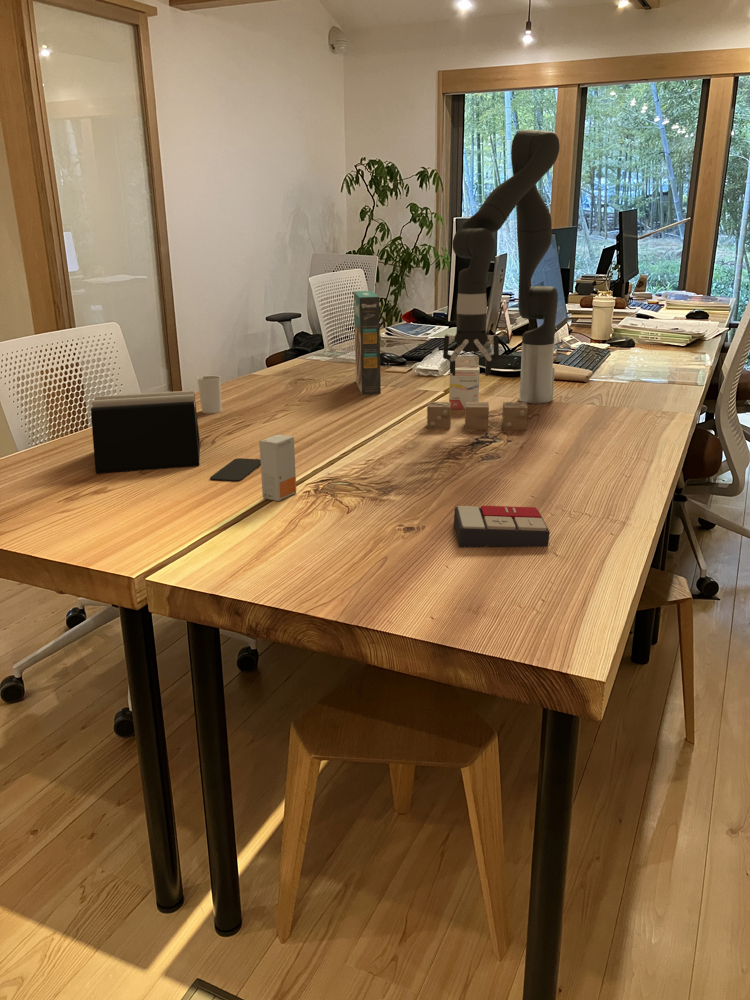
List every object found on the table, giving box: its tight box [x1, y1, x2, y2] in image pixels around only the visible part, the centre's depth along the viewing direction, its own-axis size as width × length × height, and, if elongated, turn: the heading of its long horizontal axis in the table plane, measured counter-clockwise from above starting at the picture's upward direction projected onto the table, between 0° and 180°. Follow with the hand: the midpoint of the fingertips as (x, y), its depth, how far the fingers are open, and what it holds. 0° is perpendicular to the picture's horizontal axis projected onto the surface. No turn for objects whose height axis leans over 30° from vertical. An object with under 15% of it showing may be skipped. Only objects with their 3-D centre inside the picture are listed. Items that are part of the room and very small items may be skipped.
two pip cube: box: [502, 401, 529, 431], centre depth 205 cm, size 6×6×6 cm
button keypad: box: [453, 505, 550, 549], centre depth 135 cm, size 11×4×15 cm
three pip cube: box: [426, 401, 452, 430], centre depth 207 cm, size 6×6×6 cm
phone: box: [209, 457, 261, 483], centre depth 174 cm, size 7×1×15 cm
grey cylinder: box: [197, 374, 223, 414], centre depth 228 cm, size 7×7×10 cm
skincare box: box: [259, 433, 297, 502], centre depth 155 cm, size 6×4×12 cm
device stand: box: [90, 390, 201, 475], centre depth 184 cm, size 22×22×15 cm
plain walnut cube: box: [464, 401, 490, 431], centre depth 206 cm, size 6×6×6 cm
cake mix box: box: [353, 290, 382, 395], centre depth 253 cm, size 22×6×30 cm, turn 6°
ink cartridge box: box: [448, 355, 481, 410], centre depth 225 cm, size 9×5×15 cm, turn 84°
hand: (470, 375), depth 203 cm, fingers open, 8 cm apart
